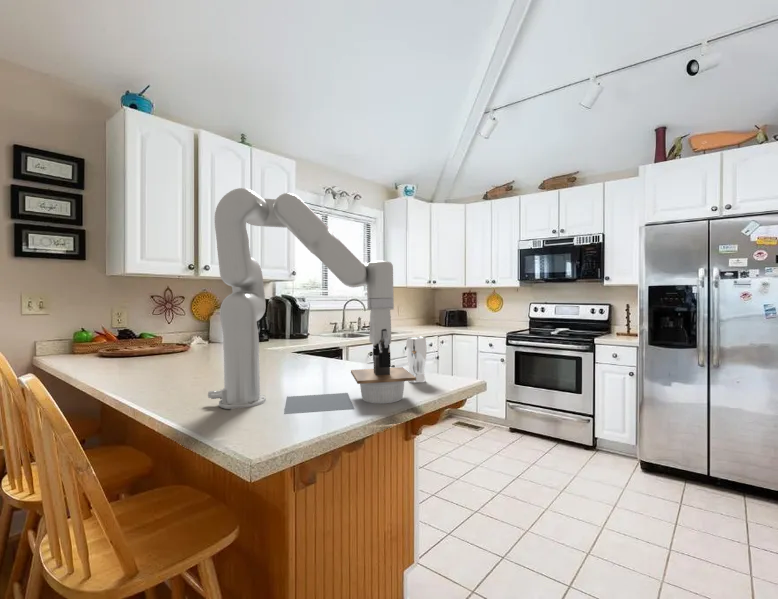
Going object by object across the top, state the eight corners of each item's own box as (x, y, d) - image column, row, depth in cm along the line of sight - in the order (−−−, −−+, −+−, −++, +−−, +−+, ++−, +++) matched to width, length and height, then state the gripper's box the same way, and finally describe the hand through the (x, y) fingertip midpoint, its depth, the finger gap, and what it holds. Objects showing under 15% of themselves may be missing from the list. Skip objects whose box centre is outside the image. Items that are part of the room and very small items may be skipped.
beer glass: (427, 383, 141) (427, 338, 141) (406, 383, 141) (406, 339, 141) (426, 379, 148) (425, 336, 148) (406, 379, 148) (405, 336, 148)
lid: (357, 383, 111) (357, 362, 111) (350, 372, 127) (350, 353, 127) (416, 380, 115) (415, 359, 114) (402, 369, 130) (402, 351, 130)
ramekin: (367, 408, 112) (367, 383, 112) (353, 397, 125) (353, 374, 124) (412, 403, 117) (412, 378, 117) (395, 392, 129) (394, 370, 129)
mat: (283, 415, 107) (283, 413, 107) (286, 398, 124) (286, 396, 124) (354, 410, 110) (354, 408, 110) (347, 394, 128) (347, 392, 128)
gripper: (363, 304, 128) (364, 360, 128) (372, 305, 111) (373, 370, 111) (387, 303, 129) (388, 358, 130) (400, 305, 113) (401, 368, 113)
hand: (381, 364), depth 121 cm, fingers open, 9 cm apart
